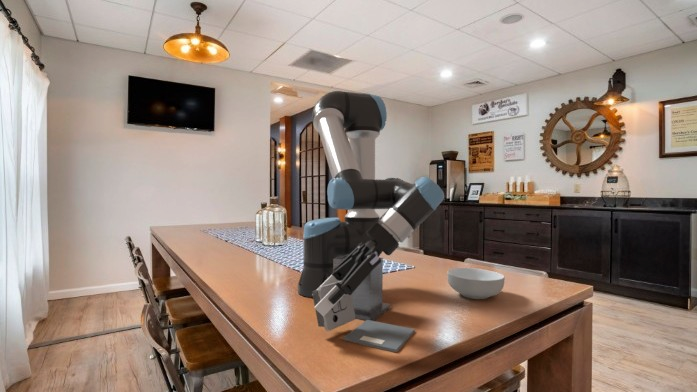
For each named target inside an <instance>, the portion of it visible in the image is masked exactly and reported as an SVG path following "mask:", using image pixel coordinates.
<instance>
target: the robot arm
mask: <svg viewBox="0 0 697 392" xmlns="http://www.w3.org/2000/svg"><path fill="white" fill-rule="evenodd" d="M312 109H313V110H312V113H311V119H312V121H311V122H312V124H313V127H314V130H315V131H316V132H317V133H318V135H319V136H320V141H321V143H322V147H323V150H324V154H325V157H326V158H325V159H326V160H327V164H328V165H327V166H328V167H329V172H330V174H331V178H332V179H330V181H329V182H328V184H327V191H326V193H327V194H326V195H327V202H328V204H329V205H328V206H329V207H330V208H332V209H335V210H346V211H348V212H346V214H345V215H344V221H342V220H341V218H340V217H324V218H317V219H312V220H310V221H307V222H306V223H305V224H304V226H303V227H304V228H303V234H302V235H303V236H302V238H303V268H302V270H301V275H300V277H299V280H298V284H297V293H298V295H301V296H304V297H307V298H313V294H312V291H315V290H318V288H319V287H321V286H324V285H328V284H331V283H335V282H337V283H335V286H334V287H333V288H332V290H331V291H330V292H329V293H328V294H327V295H326V296H325V297H324V298H323V299H322V300H321V301H320V302H319V303H318V304H317V305H316V306H315V305H314V310H315V309H316V310H317V311H318V312H319V313H320V314H321V315H322V316H323V317H324V316H325V315H326V314H327V313H328V312H329V311H330V310H331V309H332V308H333V307H334V305H335V304H336V303H337V302H338V301H339V300H340V299H341V298H342V297H343V296H344V295H347V294H348V295H351V294H352V293H353V292H354V291H355V289H356V288H357V287H358V286H359V285H360V284H361V283H362V282H363V280H364V279H365V278H366V277H367V276H368V275H369V274H370V272H371V271H372V270H373V269H374V268H375V267H376V266H377V265H378V264H380V263H381V261H382V260H381V259H380V258H381V257H380V256H381V254H382V253H384V254H385V255H387V256H391V255H392V254H393V253H394V251H396V249H398V248H399V243H403V242H404V241H405V240H406V239H409V238H411V237H412V233H413V232H414V231H415V230H416V229H417V228H418V227H419V226H420V225H421V224H422V223H423V222H425V221H426V219H428V218H429V216H430V215H432V213H433V212H434V211H436V210H437V207H438V206H440V204H441V203H442V202H443V201H444V199H445V193H444V191H443V189H442V188H441V187H440V185H439V184H437V182H436V181H434V180H433V179H431V178H430V177H428V176H422V177H420V178H418V179H417V180H415V181H414V183H410V182H407V181H406V180H403V179H401V178H398V177H397V178H396V177H386V178H385V179H376V139H377V138H378V137H379V136H380V133H381V132H380V131H383V129H385V126H386V121H387V117H388V116H387V107H386V104H385V102H384V100H383V99H382V97H380V96H379V95H376V94H375V95H374V94H371V93H361V92H352V91H350V92H349V91H342V90H333V91H329V92H327V93H326V94H323V95H322V96H321V97H320V98H319V99H318V100H317V101H316V103H315V104H314V107H313V108H312ZM376 210H386V211H385V212H384V213H383V214H382V215H381V216H380V215H379V214H378V213H377V212H376ZM347 254H349V255H348V256H347V257H346V258H345V259H344V260H343V261H341V262H340V263H339V264H338V265H337V266H336V267H335V268H334V269H333V259H334V258H337V257H340V256H343V255H347ZM333 270H334V271H333ZM338 280H339V281H341V282H340V283H339V282H338ZM316 310H315V311H316Z"/></svg>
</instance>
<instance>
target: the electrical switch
mask: <svg viewBox="0 0 697 392" xmlns="http://www.w3.org/2000/svg"><path fill="white" fill-rule="evenodd" d="M338 282H339V283H340V282H341V281H338ZM335 283H337V282H335ZM335 283H331V284H328V285H324V286H321V287H319V288H318V290H315V291H312V294H313V304H314V307H315V306H316V305H317V304H318V303H319V302H320V301H321V300H322V299H323V298H324V297H325V296H326V295H327V294H328V293H329V292H330V291H331V290H332V288H333V287H334V286H335ZM314 311H315V315H316V319H317V325H318V327H319V328H321V327H322V328H324V330H325V331H326V332H329V331H333V330H335V329H337V328H339V327H341V326H344V325H346V324H348V323H350V322H351V323H352V322H353V321H355V320H356V318H355V312H354V307H353V302H352V297H351V295H348V294H347V295H344V296H343V297H342V298H341V299H340V300H339V301H338V302H337V303H336V304H335V305H334V307H333V308H332V309H331V310H330V311H329V312H328V313H327V314H326V315H325V316H324V317H323V316H322V315H321V314H320V313H319V312H318V311H317V310H316V309H315V308H314Z"/></svg>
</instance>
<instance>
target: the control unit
mask: <svg viewBox="0 0 697 392" xmlns="http://www.w3.org/2000/svg"><path fill="white" fill-rule="evenodd" d="M348 255H349V254H347V255H343V256H340V257H337V258H334V259H333V269H334V268H335V267H336V266H337V265H338V264H339V263H340V262H341V261H343V260H344V259H345V258H346V257H347V256H348ZM379 258H380V259H381V260H382V261H381V263H380V264H378V265H377V266H376V267H375V268H374V269H373V270H372V271H371V272H370V274H369V275H368V276H367V277H366V278H365V279H364V280H363V282H362V283H361V284H360V285H359V286H358V287H357V288H356V289H355V291H354V292H353V293H352V294H351V297H352V302H353V307H354V312H355V319H358V320H363V321H366V320H371V321H375V320H376V319H378V318H379V317H380V316H381V315H383V314H384V313H385V312H386V311H388V310H389V309H391V304H390V303H387V302H383V286H384V285H383V280H384V279H383V278H384V276H383V274H384V272H383V269H384V268H383V267H384V265H383V264H384V263H383V262H384V260H383V259H384V258H383V257H379ZM333 271H334V270H333ZM338 281H339V280H338Z"/></svg>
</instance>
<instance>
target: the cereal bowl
mask: <svg viewBox="0 0 697 392" xmlns="http://www.w3.org/2000/svg"><path fill="white" fill-rule="evenodd" d="M446 276H447V282H448V284H449V286H450V288H451V289H452V290H454V291H456V292H457V293H460V295H461V296H463V297H465V298H467V299H474V300H486V299H488V298H489V297H494V296H497V295H498V294H500V293H501V291H502V290H503V288H504V287H505V275H504V274H502V273H499V272H496V271H493V270H489V269H483V268H477V267H454V268H449V269H448V270H447V273H446Z"/></svg>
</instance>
